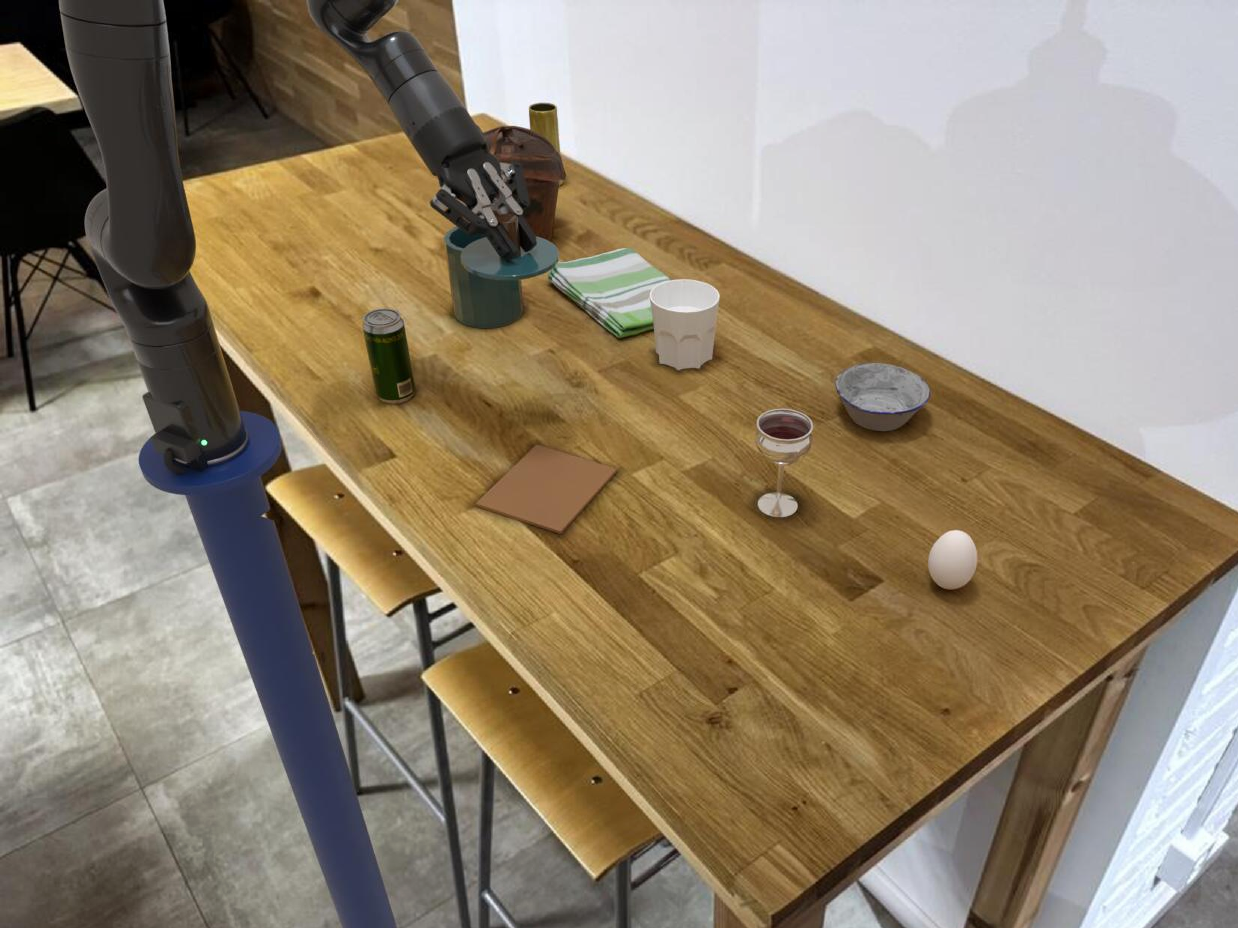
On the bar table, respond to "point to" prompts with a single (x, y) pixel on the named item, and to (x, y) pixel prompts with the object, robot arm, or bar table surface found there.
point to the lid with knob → (523, 266)
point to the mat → (547, 488)
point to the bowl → (881, 395)
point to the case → (531, 172)
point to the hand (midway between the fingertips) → (522, 252)
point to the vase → (545, 123)
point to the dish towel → (611, 289)
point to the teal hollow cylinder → (479, 289)
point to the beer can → (388, 355)
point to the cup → (684, 322)
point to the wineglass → (782, 452)
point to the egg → (953, 560)
